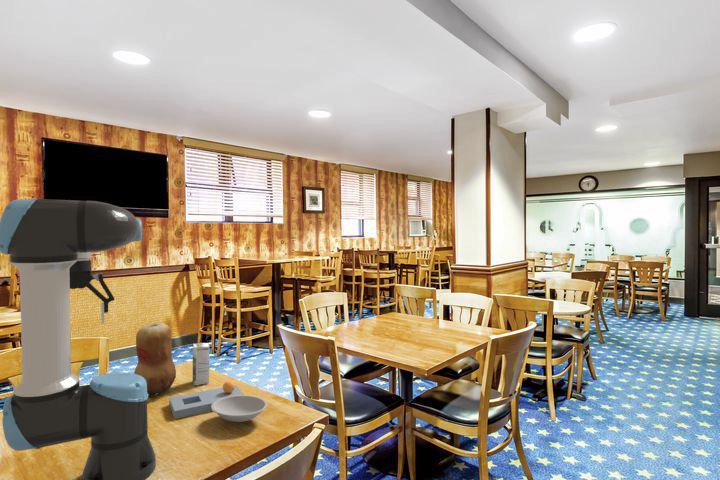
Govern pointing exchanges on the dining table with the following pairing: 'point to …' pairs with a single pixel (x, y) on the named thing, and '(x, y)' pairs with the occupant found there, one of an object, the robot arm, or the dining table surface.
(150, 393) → the butternut squash
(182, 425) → the dining table surface
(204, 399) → the hole plate
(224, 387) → the ball
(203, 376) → the syrup box
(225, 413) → the dish
